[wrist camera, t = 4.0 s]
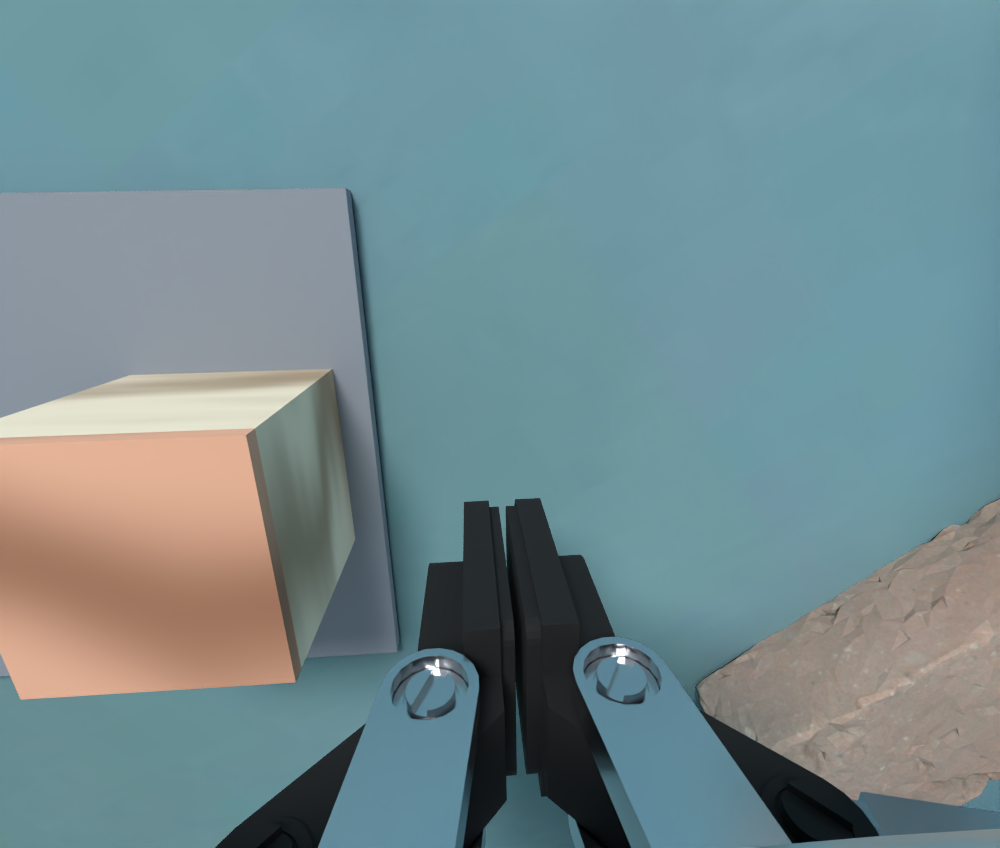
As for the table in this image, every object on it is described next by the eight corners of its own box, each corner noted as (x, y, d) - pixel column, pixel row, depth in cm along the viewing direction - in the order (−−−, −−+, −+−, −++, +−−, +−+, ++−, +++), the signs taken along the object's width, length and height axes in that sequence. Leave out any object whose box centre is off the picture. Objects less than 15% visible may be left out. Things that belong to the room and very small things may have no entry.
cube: (129, 375, 14) (-91, 448, 9) (332, 368, 15) (246, 435, 9) (176, 548, 16) (20, 699, 11) (355, 539, 17) (295, 682, 11)
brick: (766, 780, 23) (837, 902, 19) (680, 677, 21) (738, 788, 16) (1099, 595, 21) (1270, 685, 16) (1044, 455, 18) (1227, 515, 14)
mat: (-493, 203, 13) (-539, 200, 12) (350, 191, 14) (345, 188, 13) (-200, 675, 18) (-222, 689, 17) (399, 640, 19) (397, 652, 18)
